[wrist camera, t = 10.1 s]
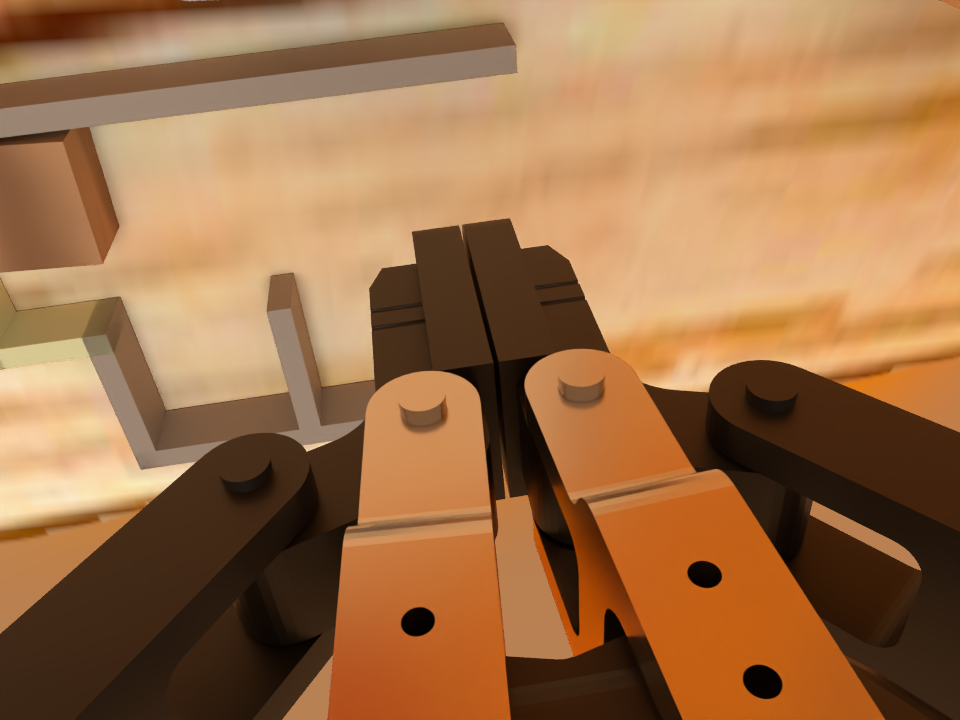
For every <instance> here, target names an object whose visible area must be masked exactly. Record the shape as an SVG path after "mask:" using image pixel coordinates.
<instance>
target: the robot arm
mask: <svg viewBox="0 0 960 720" xmlns="http://www.w3.org/2000/svg"><path fill="white" fill-rule="evenodd" d="M940 1H942V2H945V3H947V4H949V5H952V6H954V7H956V8H958V9H960V0H940ZM462 234H463V240H462V236H461V232H460V228H459V225H458V226H450V227H443V228H436V229H429V230H421V231H414V232H412V236H413V243H414V250H415V257H416V264H411V265H404V266H396V267H389V268H382V269H381V271H380V273H379V274H378V276H377V277H376V279H375V280H374V282H373V284H372V285H371V287H370V288H369V292H370V309H371V325H372V342H373V359H374V376H375V394H374V395H373V396H372V398H371V399H370V401H369V403H368V405H367V409H366V418H365V420H364V421H363V422H362V423H361V424H360V425H359V426H358V427H356V428H355V429H354V430H352V431H351V432H350V433H348V434H346V435H345V436H343V437H341V438H339V439H337V440H335V441H333V442H331V443H328V444H326V445H323V446H321V447H318V448H316V449H313V450H310V451H308V452H306V450H305V449H304V447H303V446H302V445H301V444H300V443H299V442H297V441H296V440H294V439H292V438H290V437H288V436H285V435H281V434H276V433H254V434H248V435H244V436H240V437H237V438H234V439H231V440H229V441H226V442H224V443H222V444H220V445H218V446H217V447H215V448H213V449H212V450H210V451H209V452H208V453H207V454H205V455H204V456H203V457H202V458H200V459H199V460H198V461H197V462H196V463H195V464H194V465H193V466H191V467H190V468H189V469H188V470H187V471H186V472H185V473H183V474H182V475H181V476H180V477H179V478H178V479H177V480H175V481H174V482H173V483H172V484H171V485H170V486H169V487H167V488H166V489H165V490H164V491H163V492H162V493H161V494H159V495H158V496H157V497H156V498H155V499H154V500H153V501H151V502H150V503H149V504H148V505H147V506H146V507H145V508H143V509H142V510H141V511H140V512H139V513H138V514H137V515H136V516H134V517H133V518H132V519H131V520H130V521H129V522H128V523H126V524H125V525H124V526H123V527H122V528H121V529H120V530H118V532H116V533H115V534H114V535H113V536H111V537H110V538H109V539H108V540H107V541H106V542H105V543H103V544H102V545H101V546H100V547H99V548H98V549H97V550H96V551H94V552H93V553H92V554H91V555H90V556H89V557H88V558H86V559H85V560H84V561H83V562H82V563H81V564H80V565H78V566H77V567H76V568H75V569H74V570H73V571H72V572H70V573H69V574H68V575H67V576H66V577H65V578H64V579H63V580H61V581H60V582H59V583H58V584H57V585H56V586H54V587H53V588H52V589H51V590H50V591H49V592H48V593H46V594H45V595H44V596H43V597H42V598H41V599H40V600H38V602H36V603H35V604H34V605H33V606H32V607H31V608H29V609H28V610H27V611H26V612H25V613H24V614H23V615H21V616H20V617H19V618H18V619H17V620H16V621H15V622H13V623H12V624H11V625H10V626H9V627H8V628H7V629H6V630H4V631H3V632H2V633H1V634H0V720H282V719H283V718H284V716H285V715H286V714H287V712H288V711H289V710H290V709H291V707H292V706H293V705H294V704H295V702H296V701H297V699H298V698H299V697H300V696H301V695H302V693H303V692H304V691H305V690H306V688H307V687H308V685H309V684H310V683H311V682H312V681H313V679H314V678H315V677H316V676H317V674H318V673H319V672H320V670H321V669H322V668H323V666H324V665H325V664H326V663H327V661H328V660H329V659H330V658H331V656H332V655H333V662H332V674H331V685H330V697H329V708H328V719H327V720H960V433H959V432H957V431H955V430H952V429H949V428H947V427H945V426H942V425H940V424H937V423H935V422H932V421H930V420H927V419H925V418H922V417H920V416H918V415H915V414H913V413H910V412H908V411H905V410H903V409H900V408H898V407H895V406H893V405H891V404H888V403H886V402H883V401H881V400H878V399H876V398H873V397H871V396H868V395H866V394H863V393H861V392H859V391H856V390H853V389H851V388H848V387H846V386H844V385H841V384H839V383H836V382H834V381H831V380H829V379H827V378H824V377H822V376H819V375H817V374H814V373H812V372H809V371H807V370H804V369H802V368H799V367H797V366H794V365H791V364H787V363H783V362H777V361H770V360H754V361H746V362H740V363H737V364H734V365H731V366H729V367H727V368H725V369H723V370H722V371H721V372H719V373H718V374H717V375H716V376H715V377H714V378H713V380H712V382H711V384H710V388H709V393H707V392H693V391H679V390H669V389H662V388H658V387H653V386H650V385H647V384H644V383H642V382H641V380H640V379H639V377H638V375H637V374H636V372H635V371H634V369H633V368H632V367H631V366H630V365H629V364H628V363H627V362H626V361H624V360H622V359H621V358H619V357H617V356H615V355H613V354H610V352H609V350H608V348H607V345H606V343H605V341H604V339H603V336H602V334H601V332H600V329H599V327H598V325H597V323H596V320H595V318H594V316H593V314H592V311H591V309H590V307H589V305H588V302H587V300H585V296H584V293H583V291H582V289H581V287H580V284H578V280H577V278H576V275H575V273H574V271H573V268H572V266H571V264H570V262H569V260H568V259H566V258H565V257H563V256H562V255H561V254H559V253H558V252H557V251H555V250H554V249H552V248H551V247H550V246H548V245H546V246H539V247H532V248H525V249H521V248H520V245H519V242H518V239H517V237H516V234H515V231H514V228H513V226H512V223H511V220H510V219H509V218H508V219H501V220H493V221H486V222H479V223H471V224H464V225H462ZM502 464H503V468H502ZM503 469H504V473H505V478H506V482H507V486H508V491H509V495H510V498H511V497H518V496H523V495H528V497H529V501H530V505H531V509H532V517H533V534H534V542H535V546H536V549H537V552H538V554H539V557H540V560H541V563H542V566H543V569H544V572H545V575H546V577H547V580H548V583H549V586H550V589H551V592H552V595H553V597H554V600H555V603H556V606H557V609H558V612H559V615H560V618H561V621H562V623H563V626H564V629H565V632H566V635H567V638H568V641H569V644H570V646H571V649H572V652H573V656H574V657H572V658H568V659H563V660H562V659H561V660H560V659H559V660H554V659H539V658H524V657H508V656H506V649H505V639H504V630H503V619H502V608H501V599H500V588H499V578H498V568H497V557H496V548H495V539H496V536H497V532H498V519H497V508H496V500H500V499H505V490H504V479H503ZM813 501H815V502H817V503H819V504H821V505H823V506H825V507H827V508H829V509H831V510H834V511H835V512H837V513H839V514H841V515H843V516H845V517H847V518H849V519H851V520H853V521H855V522H857V523H859V524H861V525H863V526H865V527H867V528H869V529H871V530H873V531H875V532H877V533H879V534H881V535H883V536H885V537H887V538H889V539H891V540H893V541H895V542H897V543H898V544H900V545H901V546H903V547H904V548H906V549H907V550H908V551H909V552H910V553H911V554H912V555H913V556H914V558H915V559H916V560H917V562H918V564H919V566H920V568H921V571H920V570H917V569H914V568H912V567H910V566H908V565H906V564H904V563H902V562H900V561H899V560H897V559H895V558H893V557H891V556H889V555H887V554H885V553H883V552H881V551H879V550H877V549H875V548H873V547H871V546H869V545H867V544H865V543H863V542H861V541H859V540H857V539H856V538H853V537H851V536H850V535H848V534H846V533H844V532H842V531H840V530H838V529H836V528H834V527H832V526H830V525H828V524H826V523H824V522H822V521H820V520H818V519H816V518H815V517H813V516H811V515H810V510H811V506H812V502H813Z"/></svg>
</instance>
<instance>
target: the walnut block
mask: <svg viewBox="0 0 960 720" xmlns="http://www.w3.org/2000/svg"><path fill="white" fill-rule="evenodd" d="M118 228H119V224H118V221H117V217H116V214H115V211H114V207H113V204H112V201H111V198H110V194H109V191H108V188H107V185H106V181H105V178H104V175H103V171H102V168H101V165H100V162H99V158H98V155H97V152H96V148H95V145H94V142H93V139H92V135H91V132H90V129H89V127H83V128H75V129H67V130H59V131H51V132H43V133H35V134H27V135H19V136H12V137H4V138H0V272H12V271H24V270H36V269H49V268H61V267H73V266H86V265H98V264H103V263H104V260H105V258H106V256H107V253H108V251H109V249H110V247H111V244H112V242H113V240H114V237H115V235H116V233H117V230H118Z"/></svg>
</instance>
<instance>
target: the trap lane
mask: <svg viewBox="0 0 960 720" xmlns="http://www.w3.org/2000/svg"><path fill="white" fill-rule="evenodd" d="M512 73H517V57H516V44H515V43H514V41H513V39H512V37H511V36H510V34H509V32H508V31H507V29H506V27H505V25H504V24H503V23H498V24H490V25H482V26H473V27H465V28H457V29H449V30H441V31H432V32H424V33H416V34H408V35H400V36H391V37H383V38H375V39H367V40H359V41H350V42H342V43H334V44H326V45H318V46H310V47H301V48H293V49H285V50H277V51H269V52H260V53H252V54H244V55H236V56H228V57H219V58H211V59H203V60H195V61H187V62H178V63H170V64H162V65H154V66H146V67H138V68H129V69H121V70H113V71H105V72H97V73H88V74H80V75H72V76H64V77H56V78H47V79H39V80H31V81H23V82H15V83H6V84H0V138H4V137H12V136H19V135H27V134H35V133H43V132H51V131H59V130H67V129H75V128H83V127H91V126H99V125H107V124H115V123H123V122H131V121H139V120H147V119H154V118H162V117H170V116H178V115H186V114H194V113H202V112H210V111H218V110H226V109H234V108H242V107H250V106H258V105H266V104H274V103H282V102H289V101H297V100H305V99H313V98H321V97H329V96H337V95H345V94H353V93H361V92H369V91H377V90H385V89H393V88H401V87H409V86H417V85H424V84H432V83H440V82H448V81H456V80H464V79H472V78H480V77H488V76H496V75H504V74H512ZM267 315H268V318H269V322H270V325H271V329H272V333H273V336H274V340H275V343H276V347H277V350H278V354H279V358H280V361H281V365H282V368H283V372H284V375H285V379H286V382H287V386H288V390H289V393H284V394H277V395H270V396H263V397H257V398H250V399H243V400H236V401H229V402H223V403H216V404H209V405H202V406H195V407H189V408H182V409H175V410H168V411H166V410H165V407H164V405H163V402H162V400H161V397H160V395H159V392H158V390H157V387H156V385H155V382H154V380H153V378H152V375H151V373H150V370H149V368H148V365H147V363H146V360H145V358H144V355H143V353H142V350H141V348H140V345H139V343H138V340H137V338H136V335H135V333H134V330H133V328H132V325H131V323H130V320H129V318H128V315H127V313H126V310H125V308H124V305H123V303H122V301H121V298H120V297H117V298H110V299H102V300H95V301H88V302H81V303H74V304H66V305H59V306H52V307H45V308H38V309H30V310H23V311H16V310H15V308H14V306H13V304H12V302H11V299H10V297H9V295H8V293H7V291H6V289H5V287H4V285H3V283H2V281H1V279H0V370H2V369H9V368H16V367H23V366H30V365H37V364H44V363H51V362H58V361H65V360H72V359H79V358H86V357H90V358H91V360H92V363H93V365H94V367H95V369H96V371H97V374H98V376H99V378H100V380H101V382H102V385H103V387H104V389H105V391H106V394H107V396H108V398H109V400H110V402H111V405H112V407H113V409H114V411H115V413H116V416H117V418H118V420H119V422H120V425H121V427H122V429H123V431H124V433H125V436H126V438H127V440H128V442H129V444H130V447H131V449H132V451H133V453H134V456H135V458H136V460H137V462H138V464H139V467H140V469H141V470H143V469H149V468H156V467H163V466H169V465H176V464H182V463H189V462H196V461H198V460H199V459H200V458H202V457H203V456H204V455H205V454H207V453H208V452H209V451H210V450H212V449H213V448H215V447H217V446H218V445H220V444H222V443H224V442H226V441H229V440H231V439H234V438H237V437H240V436H244V435H248V434H254V433H276V434H281V435H285V436H288V437H290V438H292V439H294V440H296V441H297V442H299V443H300V444H301V445H308V444H315V443H321V442H328V441H334V440H337V439H339V438H341V437H343V436H345V435H346V434H348V433H350V432H351V431H352V430H354V429H355V428H356V427H358V426H359V425H360V424H361V423H362V422H363V421H364V420H365V418H366V409H367V405H368V403H369V401H370V399H371V398H372V396H373V395H374V394H375V380H372V381H365V382H358V383H352V384H345V385H338V386H331V387H324V388H322V387H321V383H320V379H319V375H318V371H317V367H316V362H315V358H314V354H313V350H312V346H311V342H310V338H309V334H308V330H307V326H306V322H305V318H304V314H303V310H302V306H301V302H300V298H299V294H298V290H297V286H296V282H295V278H294V274H293V273H290V274H283V275H276V276H271V279H270V288H269V296H268V304H267Z"/></svg>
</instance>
